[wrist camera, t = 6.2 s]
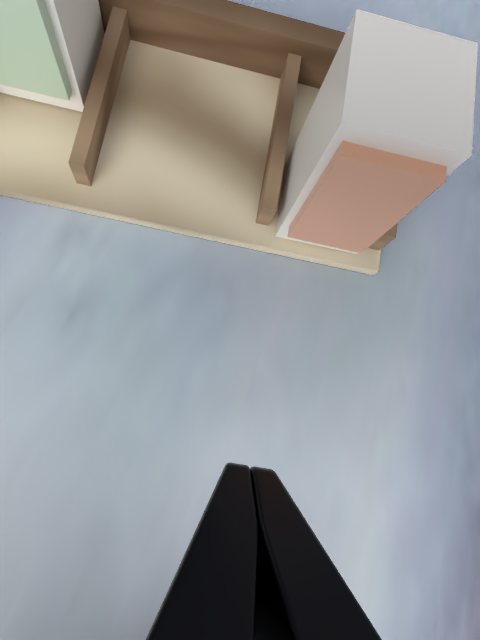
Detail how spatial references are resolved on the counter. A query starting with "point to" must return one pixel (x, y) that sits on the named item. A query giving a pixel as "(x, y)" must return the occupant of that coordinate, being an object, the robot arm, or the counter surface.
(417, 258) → the counter surface
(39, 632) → the counter surface
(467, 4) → the counter surface
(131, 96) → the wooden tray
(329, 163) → the white tall block
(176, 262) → the counter surface
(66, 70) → the white rectangular block
